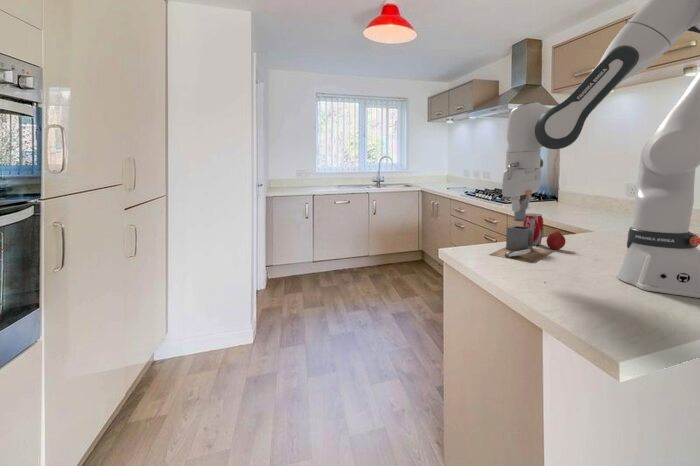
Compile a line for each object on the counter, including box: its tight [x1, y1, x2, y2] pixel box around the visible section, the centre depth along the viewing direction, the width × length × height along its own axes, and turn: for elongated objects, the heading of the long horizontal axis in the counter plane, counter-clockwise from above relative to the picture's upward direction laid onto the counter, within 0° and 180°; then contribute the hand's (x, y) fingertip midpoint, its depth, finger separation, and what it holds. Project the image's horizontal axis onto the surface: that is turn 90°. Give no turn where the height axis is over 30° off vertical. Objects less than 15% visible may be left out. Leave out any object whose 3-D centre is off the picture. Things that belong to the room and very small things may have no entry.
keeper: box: [505, 249, 531, 257], centre depth 114 cm, size 7×5×1 cm
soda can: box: [522, 212, 544, 246], centre depth 135 cm, size 7×7×12 cm
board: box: [488, 246, 555, 264], centre depth 119 cm, size 15×20×1 cm
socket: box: [505, 225, 534, 251], centre depth 123 cm, size 7×6×8 cm
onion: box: [546, 229, 566, 251], centre depth 124 cm, size 6×6×8 cm
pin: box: [513, 190, 533, 222], centre depth 102 cm, size 6×6×9 cm
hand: (520, 210), depth 102 cm, fingers closed on pin, 5 cm apart
